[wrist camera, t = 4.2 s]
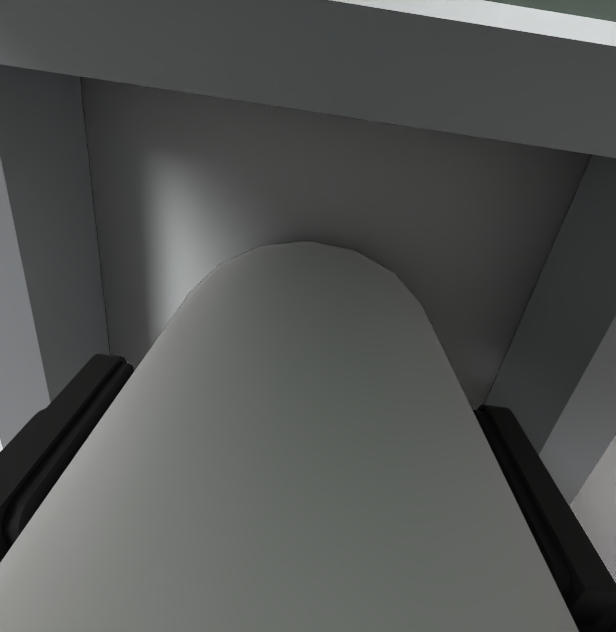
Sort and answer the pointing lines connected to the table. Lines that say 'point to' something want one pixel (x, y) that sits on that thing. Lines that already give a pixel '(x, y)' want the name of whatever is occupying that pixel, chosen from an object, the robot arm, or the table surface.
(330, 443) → the can
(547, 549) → the robot arm
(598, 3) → the plate
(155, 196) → the table surface
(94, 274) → the duct box
